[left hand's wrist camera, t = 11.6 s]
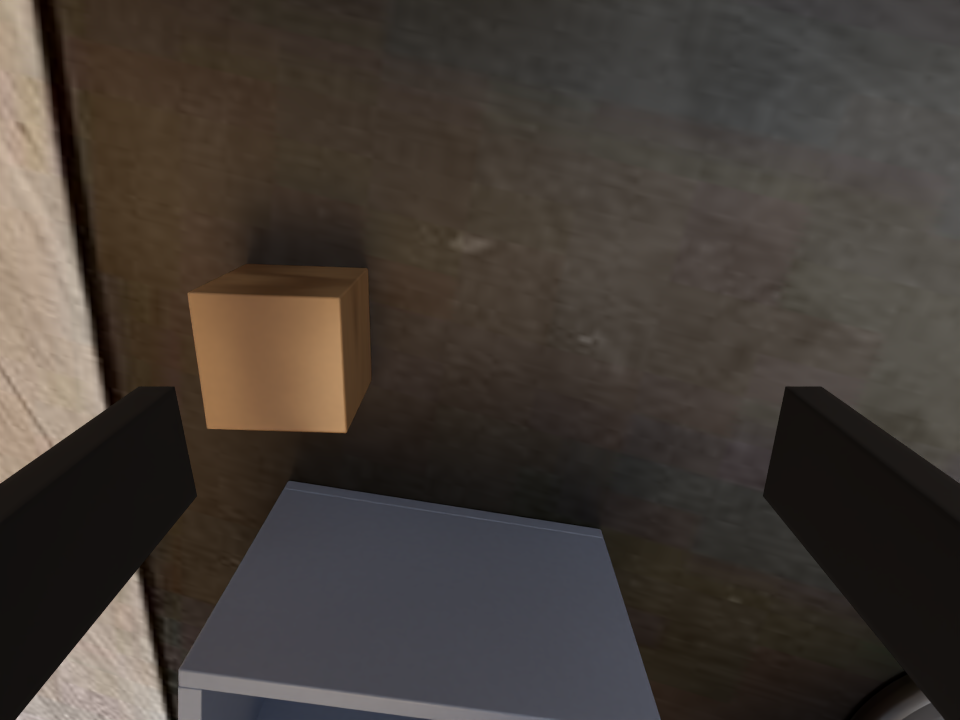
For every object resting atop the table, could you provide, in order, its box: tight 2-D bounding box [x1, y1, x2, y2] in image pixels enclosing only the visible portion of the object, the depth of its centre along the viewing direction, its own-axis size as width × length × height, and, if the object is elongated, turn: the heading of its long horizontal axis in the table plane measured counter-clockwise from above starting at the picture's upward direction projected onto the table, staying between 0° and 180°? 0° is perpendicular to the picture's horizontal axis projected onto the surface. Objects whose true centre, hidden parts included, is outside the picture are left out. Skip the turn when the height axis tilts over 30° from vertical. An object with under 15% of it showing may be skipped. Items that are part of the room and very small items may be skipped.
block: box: [188, 264, 372, 433], centre depth 23 cm, size 5×5×5 cm
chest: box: [178, 481, 661, 720], centre depth 25 cm, size 16×11×11 cm
